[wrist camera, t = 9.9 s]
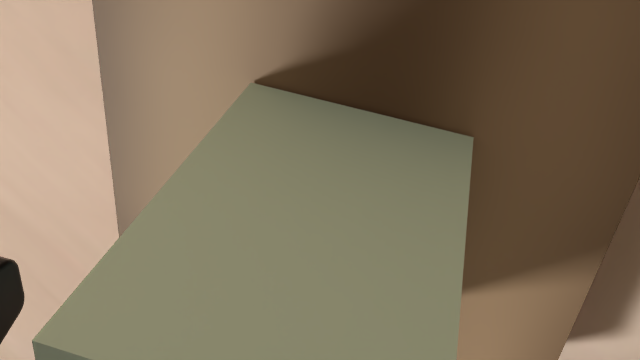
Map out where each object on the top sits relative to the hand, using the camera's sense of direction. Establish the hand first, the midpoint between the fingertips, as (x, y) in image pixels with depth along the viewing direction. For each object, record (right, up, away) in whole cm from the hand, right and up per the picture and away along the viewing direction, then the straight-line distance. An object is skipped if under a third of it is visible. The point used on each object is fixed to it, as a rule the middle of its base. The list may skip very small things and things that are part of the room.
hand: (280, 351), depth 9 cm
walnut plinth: (+2, +4, +6) cm, 8 cm away
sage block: (+1, +2, +4) cm, 5 cm away
